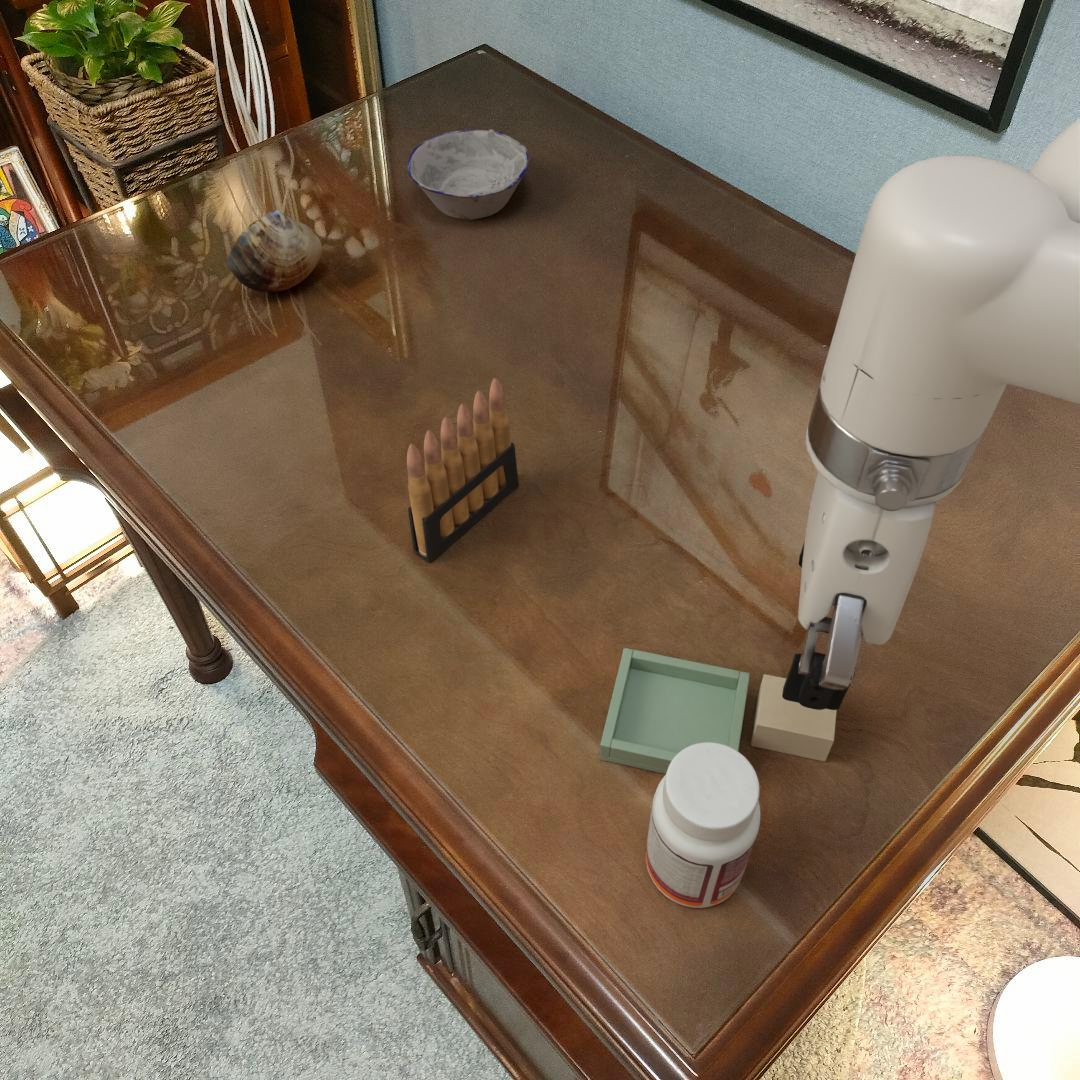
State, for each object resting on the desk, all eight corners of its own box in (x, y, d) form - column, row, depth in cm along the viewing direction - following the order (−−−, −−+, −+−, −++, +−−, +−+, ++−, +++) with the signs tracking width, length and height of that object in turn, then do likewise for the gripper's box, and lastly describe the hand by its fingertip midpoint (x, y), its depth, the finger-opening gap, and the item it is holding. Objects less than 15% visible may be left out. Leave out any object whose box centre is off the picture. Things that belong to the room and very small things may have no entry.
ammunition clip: (429, 564, 80) (411, 457, 70) (413, 552, 81) (392, 445, 71) (519, 485, 85) (513, 376, 76) (502, 474, 86) (494, 365, 76)
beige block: (829, 711, 71) (838, 688, 69) (825, 762, 68) (834, 740, 66) (757, 696, 72) (763, 673, 69) (750, 746, 69) (756, 724, 67)
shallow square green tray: (746, 688, 72) (750, 672, 71) (730, 789, 67) (735, 774, 66) (622, 662, 74) (623, 647, 72) (599, 759, 69) (599, 745, 67)
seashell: (312, 255, 106) (296, 185, 99) (338, 282, 103) (324, 212, 96) (228, 289, 102) (206, 219, 96) (252, 318, 99) (231, 248, 93)
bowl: (421, 165, 116) (416, 125, 112) (534, 168, 115) (533, 127, 111) (403, 232, 108) (398, 191, 104) (524, 235, 107) (523, 194, 103)
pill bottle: (733, 813, 66) (758, 728, 58) (750, 908, 62) (780, 833, 54) (638, 819, 66) (649, 735, 57) (650, 914, 62) (664, 840, 54)
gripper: (978, 588, 42) (873, 775, 55) (974, 324, 52) (887, 535, 66) (793, 552, 43) (735, 744, 56) (825, 301, 54) (770, 513, 67)
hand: (817, 631), depth 61 cm, fingers open, 9 cm apart
